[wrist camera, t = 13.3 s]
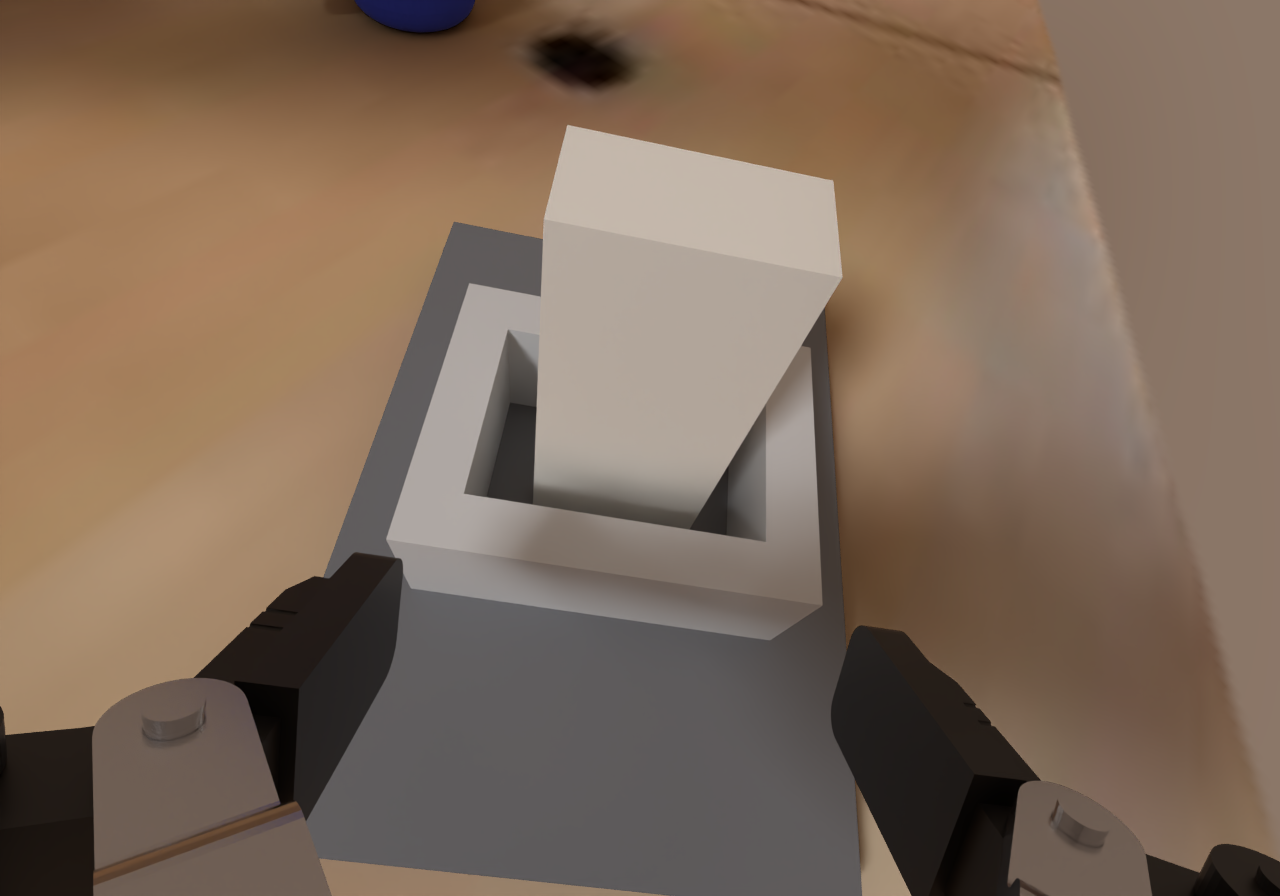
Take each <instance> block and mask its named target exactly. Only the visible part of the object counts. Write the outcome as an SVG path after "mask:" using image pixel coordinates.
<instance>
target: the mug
mask: <svg viewBox="0 0 1280 896" xmlns="http://www.w3.org/2000/svg"><path fill="white" fill-rule="evenodd" d="M355 2H356V4H357V5H358V6H359V7H360V9H361V10H362V11H363V12H364V13H365V14H367V15H368V16H370V17H371V18H372V19H374V20H376V21H377V22H379V23H381V24H384V25H386V26H389V27H392V28H395V29H399V30H403V31H411V32H435V31H441V30H445V29H448V28H451V27H453V26H455V25H457V24H459V23H460V22H462V21H463V20H464V19H465V18H466V17H467V16H468V15H469V14H470V12H471V10H472V8H473V5H474V2H475V0H355Z"/></svg>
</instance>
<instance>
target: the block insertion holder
mask: <svg viewBox="0 0 1280 896" xmlns="http://www.w3.org/2000/svg"><path fill="white" fill-rule="evenodd" d="M542 254H543V239H539V238H534V237H529V236H523V235H518V234H513V233H508V232H503V231H498V230H493V229H488V228H483V227H478V226H473V225H468V224H463V223H458V222H454V223H453V226H452V228H451V231H450V234H449V236H448V239H447V242H446V245H445V247H444V250H443V253H442V256H441V258H440V261H439V264H438V266H437V269H436V272H435V275H434V277H433V280H432V283H431V285H430V288H429V291H428V294H427V296H426V299H425V302H424V305H423V307H422V310H421V313H420V315H419V318H418V321H417V324H416V326H415V329H414V332H413V335H412V337H411V340H410V343H409V345H408V348H407V351H406V354H405V356H404V359H403V362H402V365H401V367H400V370H399V373H398V375H397V378H396V381H395V384H394V386H393V389H392V392H391V395H390V397H389V400H388V403H387V405H386V408H385V411H384V414H383V416H382V419H381V422H380V425H379V427H378V430H377V433H376V435H375V438H374V441H373V444H372V446H371V449H370V452H369V454H368V457H367V460H366V463H365V465H364V468H363V471H362V474H361V476H360V479H359V482H358V484H357V487H356V490H355V493H354V495H353V498H352V501H351V504H350V506H349V509H348V512H347V514H346V517H345V520H344V523H343V525H342V528H341V531H340V534H339V536H338V539H337V542H336V544H335V547H334V550H333V553H332V555H331V558H330V561H329V564H328V566H327V569H326V572H325V574H324V577H323V578H330V577H331V576H332V575H333V574H334V573H335V572H336V571H337V570H338V569H339V568H340V567H341V566H342V565H343V563H344V562H345V561H346V560H347V559H348V558H349V557H350V556H351V555H352V554H353V553H355V552H359V553H366V554H373V555H380V556H387V557H394V558H400V559H401V560H402V562H403V579H402V589H401V600H400V610H399V621H398V632H397V641H396V648H395V653H394V657H393V661H392V664H391V667H390V670H389V673H388V675H387V677H386V679H385V681H384V683H383V685H382V687H381V688H380V690H379V692H378V694H377V696H376V697H375V699H374V701H373V703H372V705H371V706H370V708H369V710H368V712H367V714H366V715H365V717H364V719H363V721H362V722H361V724H360V726H359V728H358V730H357V731H356V733H355V735H354V737H353V739H352V740H351V742H350V744H349V746H348V748H347V749H346V751H345V753H344V755H343V756H342V758H341V760H340V762H339V764H338V765H337V767H336V769H335V771H334V773H333V774H332V776H331V778H330V780H329V782H328V783H327V785H326V787H325V789H324V790H323V792H322V794H321V796H320V798H319V799H318V801H317V803H316V805H315V807H314V808H313V810H312V812H311V814H310V816H309V817H308V819H307V821H306V823H307V826H308V829H309V832H310V835H311V838H312V841H313V843H314V846H315V849H316V852H317V855H318V858H321V859H330V860H340V861H349V862H359V863H368V864H378V865H387V866H396V867H406V868H415V869H425V870H434V871H444V872H453V873H463V874H472V875H481V876H491V877H500V878H510V879H519V880H529V881H538V882H547V883H557V884H566V885H576V886H585V887H595V888H604V889H614V890H623V891H632V892H642V893H651V894H661V895H670V896H862V887H861V871H860V855H859V840H858V824H857V808H856V793H855V778H854V776H853V774H852V772H851V770H850V768H849V766H848V764H847V762H846V760H845V758H844V756H843V754H842V752H841V750H840V747H839V745H838V743H837V741H836V739H835V737H834V734H833V730H832V725H831V705H832V700H833V696H834V692H835V689H836V686H837V682H838V679H839V676H840V672H841V669H842V666H843V662H844V659H845V656H846V652H847V651H846V635H845V620H844V604H843V588H842V573H841V557H840V541H839V525H838V510H837V494H836V478H835V462H834V447H833V431H832V415H831V400H830V384H829V368H828V352H827V337H826V321H825V307H824V309H823V310H822V312H821V314H820V315H819V317H818V319H817V320H816V322H815V324H814V325H813V327H812V329H811V330H810V332H809V333H808V335H807V337H806V338H805V340H804V342H803V343H802V345H801V347H800V348H799V350H798V352H797V353H796V355H795V356H794V358H793V360H792V361H791V363H790V365H789V366H788V368H787V370H786V371H785V373H784V375H783V376H782V378H781V380H780V381H779V383H778V384H777V386H776V388H775V389H774V391H773V393H772V394H771V396H770V398H769V399H768V401H767V403H766V404H765V406H764V407H763V409H762V411H761V412H760V414H759V416H758V417H757V419H756V421H755V422H754V424H753V426H752V427H751V429H750V431H749V432H748V434H747V435H746V437H745V439H744V440H743V442H742V444H741V445H740V447H739V449H738V450H737V452H736V454H735V455H734V457H733V458H732V460H731V462H730V463H729V465H728V467H727V468H726V470H725V472H724V473H723V475H722V477H721V478H720V480H719V482H718V483H717V485H716V486H715V488H714V490H713V491H712V493H711V495H710V496H709V498H708V500H707V501H706V503H705V505H704V506H703V508H702V509H701V511H700V513H699V514H698V516H697V518H696V519H695V521H694V523H693V524H692V526H691V528H690V529H689V530H688V529H682V528H676V527H669V526H663V525H657V524H651V523H644V522H638V521H632V520H625V519H619V518H613V517H607V516H600V515H594V514H588V513H582V512H575V511H569V510H563V509H557V508H550V507H544V506H538V505H533V489H534V463H535V437H536V411H537V384H538V358H539V332H540V306H541V280H542Z"/></svg>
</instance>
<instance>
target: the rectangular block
mask: <svg viewBox="0 0 1280 896" xmlns="http://www.w3.org/2000/svg"><path fill="white" fill-rule="evenodd" d="M841 279H842V267H841V257H840V246H839V236H838V225H837V214H836V204H835V193H834V183H833V181H832V180H827V179H822V178H818V177H813V176H808V175H803V174H799V173H794V172H789V171H784V170H780V169H775V168H770V167H765V166H761V165H756V164H751V163H746V162H742V161H737V160H732V159H727V158H722V157H718V156H713V155H708V154H703V153H699V152H694V151H689V150H684V149H680V148H675V147H670V146H665V145H661V144H656V143H651V142H646V141H642V140H637V139H632V138H627V137H623V136H618V135H613V134H608V133H604V132H599V131H594V130H589V129H585V128H580V127H575V126H570V125H567V129H566V133H565V137H564V141H563V145H562V149H561V153H560V157H559V161H558V165H557V169H556V173H555V177H554V181H553V185H552V189H551V193H550V197H549V201H548V204H547V208H546V212H545V216H544V227H543V254H542V280H541V306H540V332H539V358H538V384H537V411H536V437H535V463H534V489H533V505H538V506H544V507H550V508H557V509H563V510H569V511H575V512H582V513H588V514H594V515H600V516H607V517H613V518H619V519H625V520H632V521H638V522H644V523H651V524H657V525H663V526H669V527H676V528H682V529H688V530H689V529H690V528H691V526H692V524H693V523H694V521H695V519H696V518H697V516H698V514H699V513H700V511H701V509H702V508H703V506H704V505H705V503H706V501H707V500H708V498H709V496H710V495H711V493H712V491H713V490H714V488H715V486H716V485H717V483H718V482H719V480H720V478H721V477H722V475H723V473H724V472H725V470H726V468H727V467H728V465H729V463H730V462H731V460H732V458H733V457H734V455H735V454H736V452H737V450H738V449H739V447H740V445H741V444H742V442H743V440H744V439H745V437H746V435H747V434H748V432H749V431H750V429H751V427H752V426H753V424H754V422H755V421H756V419H757V417H758V416H759V414H760V412H761V411H762V409H763V407H764V406H765V404H766V403H767V401H768V399H769V398H770V396H771V394H772V393H773V391H774V389H775V388H776V386H777V384H778V383H779V381H780V380H781V378H782V376H783V375H784V373H785V371H786V370H787V368H788V366H789V365H790V363H791V361H792V360H793V358H794V356H795V355H796V353H797V352H798V350H799V348H800V347H801V345H802V343H803V342H804V340H805V338H806V337H807V335H808V333H809V332H810V330H811V329H812V327H813V325H814V324H815V322H816V320H817V319H818V317H819V315H820V314H821V312H822V310H823V309H824V307H825V305H826V304H827V302H828V301H829V299H830V297H831V296H832V294H833V292H834V291H835V289H836V287H837V286H838V284H839V282H840V281H841Z"/></svg>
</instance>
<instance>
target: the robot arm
mask: <svg viewBox="0 0 1280 896" xmlns="http://www.w3.org/2000/svg"><path fill="white" fill-rule="evenodd" d="M402 579H403V562H402V560H401V559H400V558H394V557H387V556H380V555H373V554H366V553H359V552H355V553H353V554H352V555H351V556H350V557H349V558H348V559H347V560H346V561H345V562H344V563H343V565H342V566H341V567H340V568H339V569H338V570H337V571H336V572H335V573H334V574H333V575H332V576H331V577H330V578H323V577H316V576H314V577H312V578H310V579H308V580H305V581H303V582H301V583H299V584H297V585H295V586H292V587H290V588H288V589H286V590H285V591H284V592H283V593H281V594H280V595H279V596H278V597H277V598H276V599H275V600H274V601H273V602H272V603H271V604H270V605H269V606H268V607H267V608H266V611H265V612H262V613H261V614H260V615H259V616H258V617H257V618H256V619H254V620H253V621H252V622H251V624H250V627H249V628H248V627H246V628H245V629H244V630H243V631H242V632H241V633H240V634H239V635H238V636H237V637H236V638H235V639H234V640H233V641H232V642H231V643H230V644H228V645H227V646H226V647H225V648H224V649H223V650H222V651H221V652H220V653H219V654H218V655H217V656H216V657H215V658H214V659H213V660H212V661H211V662H210V663H209V664H208V665H207V666H206V667H205V668H204V669H203V670H201V671H200V672H199V673H198V674H197V675H196V676H195V677H194V678H188V679H179V680H174V681H168V682H164V683H160V684H157V685H154V686H151V687H148V688H145V689H142V690H140V691H138V692H136V693H133V694H131V695H129V696H128V697H126V698H124V699H122V700H120V701H119V702H118V703H116V704H115V705H113V706H112V707H111V708H110V709H108V710H107V711H106V712H105V713H104V714H103V715H102V716H101V718H100V719H99V720H98V722H97V723H96V725H95V726H92V727H84V728H75V729H65V730H54V731H44V732H33V733H23V734H12V735H5V725H4V713H3V711H2V708H1V707H0V896H332V895H331V892H330V889H329V886H328V884H327V881H326V878H325V875H324V872H323V869H322V866H321V864H320V861H319V858H318V855H317V852H316V849H315V846H314V843H313V841H312V838H311V835H310V832H309V829H308V826H307V823H306V821H307V819H308V817H309V816H310V814H311V812H312V810H313V808H314V807H315V805H316V803H317V801H318V799H319V798H320V796H321V794H322V792H323V790H324V789H325V787H326V785H327V783H328V782H329V780H330V778H331V776H332V774H333V773H334V771H335V769H336V767H337V765H338V764H339V762H340V760H341V758H342V756H343V755H344V753H345V751H346V749H347V748H348V746H349V744H350V742H351V740H352V739H353V737H354V735H355V733H356V731H357V730H358V728H359V726H360V724H361V722H362V721H363V719H364V717H365V715H366V714H367V712H368V710H369V708H370V706H371V705H372V703H373V701H374V699H375V697H376V696H377V694H378V692H379V690H380V688H381V687H382V685H383V683H384V681H385V679H386V677H387V675H388V673H389V670H390V667H391V664H392V661H393V657H394V653H395V648H396V641H397V632H398V621H399V610H400V600H401V589H402ZM975 705H976V704H975V703H974V702H973V701H972V699H971V698H970V697H969V696H968V695H967V694H966V692H965V691H964V690H963V689H962V688H961V686H960V685H959V684H958V683H957V682H956V681H954V680H953V679H951V678H950V677H949V676H947V675H946V674H945V673H943V672H942V671H941V670H939V669H938V668H937V667H935V666H934V665H933V664H931V663H930V662H929V661H928V660H927V659H926V658H925V656H924V655H923V654H922V653H921V652H920V650H919V649H918V648H917V647H916V646H915V644H914V643H913V642H912V641H911V639H910V638H909V637H908V636H907V635H906V634H905V633H904V632H902V631H897V630H890V629H883V628H876V627H869V626H859V627H857V628H856V629H855V631H854V632H853V634H852V636H851V639H850V642H849V646H848V649H847V652H846V656H845V659H844V662H843V666H842V669H841V672H840V676H839V679H838V682H837V686H836V689H835V692H834V696H833V700H832V705H831V725H832V730H833V734H834V737H835V739H836V741H837V743H838V745H839V747H840V750H841V752H842V754H843V756H844V758H845V760H846V762H847V764H848V766H849V768H850V770H851V772H852V774H853V776H854V778H855V780H856V782H857V784H858V786H859V789H860V791H861V793H862V795H863V797H864V799H865V801H866V803H867V805H868V807H869V809H870V811H871V813H872V815H873V817H874V819H875V821H876V823H877V826H878V828H879V830H880V832H881V834H882V836H883V838H884V840H885V842H886V844H887V846H888V848H889V850H890V852H891V854H892V856H893V858H894V860H895V863H896V865H897V867H898V869H899V871H900V873H901V875H902V877H903V879H904V881H905V883H906V885H907V887H908V889H909V891H910V893H911V895H912V896H1280V862H1279V861H1277V860H1275V859H1273V858H1271V857H1268V856H1266V855H1264V854H1261V853H1259V852H1257V851H1254V850H1251V849H1248V848H1245V847H1241V846H1237V845H1230V844H1221V845H1217V846H1215V847H1214V848H1213V849H1212V850H1211V852H1210V854H1209V856H1208V858H1207V860H1206V862H1205V864H1204V866H1203V868H1202V870H1201V872H1200V873H1198V872H1195V871H1193V870H1190V869H1187V868H1184V867H1181V866H1178V865H1175V864H1173V863H1170V862H1167V861H1164V860H1161V859H1158V858H1156V857H1153V856H1150V855H1147V854H1145V852H1144V849H1143V847H1142V845H1141V843H1140V842H1139V840H1138V839H1137V838H1136V836H1135V835H1134V834H1133V833H1132V832H1131V830H1130V829H1129V828H1128V827H1127V826H1126V825H1125V824H1124V823H1123V822H1121V821H1120V820H1119V819H1118V818H1117V817H1116V816H1114V815H1113V814H1112V813H1111V812H1110V811H1108V810H1107V809H1105V808H1104V807H1102V806H1101V805H1100V804H1098V803H1096V802H1095V801H1093V800H1091V799H1090V798H1088V797H1086V796H1084V795H1082V794H1080V793H1078V792H1076V791H1074V790H1072V789H1069V788H1067V787H1064V786H1061V785H1058V784H1055V783H1051V782H1045V781H1041V780H1040V779H1039V778H1038V777H1037V775H1036V774H1035V773H1034V772H1033V771H1032V770H1031V768H1030V767H1029V766H1028V765H1027V764H1026V763H1025V761H1024V760H1023V759H1022V758H1021V757H1020V756H1019V754H1018V753H1017V752H1016V751H1015V750H1014V749H1013V747H1012V746H1011V745H1010V744H1009V743H1008V741H1007V740H1006V739H1005V738H1004V737H1003V736H1002V734H1001V733H1000V732H999V731H998V730H997V729H996V727H993V726H991V722H990V720H989V719H988V718H987V717H986V716H985V715H984V713H983V712H982V711H981V710H980V709H979V708H976V707H975Z"/></svg>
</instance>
